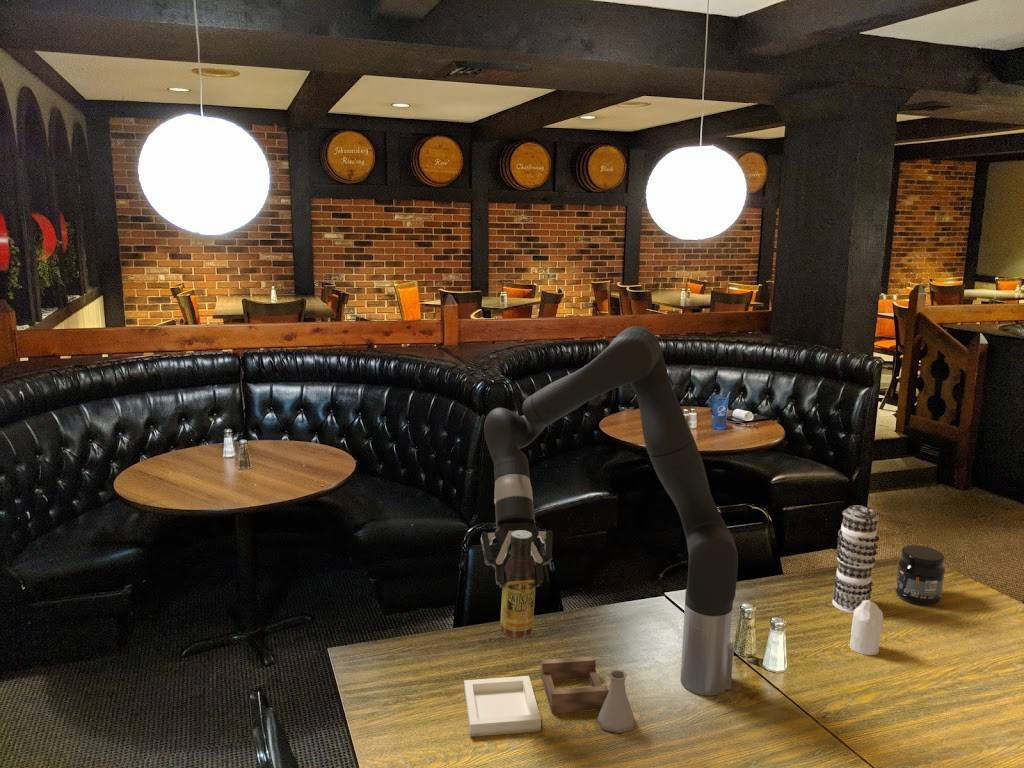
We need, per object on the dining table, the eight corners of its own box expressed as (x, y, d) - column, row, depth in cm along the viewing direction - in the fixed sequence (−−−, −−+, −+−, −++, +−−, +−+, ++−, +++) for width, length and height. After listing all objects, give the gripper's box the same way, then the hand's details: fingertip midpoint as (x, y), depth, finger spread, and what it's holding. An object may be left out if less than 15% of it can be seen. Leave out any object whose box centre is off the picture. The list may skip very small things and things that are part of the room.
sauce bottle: (504, 642, 147) (506, 542, 143) (496, 625, 153) (497, 528, 148) (538, 637, 149) (541, 539, 144) (529, 620, 155) (531, 525, 150)
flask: (637, 734, 145) (640, 685, 143) (598, 734, 145) (599, 685, 143) (632, 710, 152) (634, 663, 150) (595, 709, 153) (596, 662, 150)
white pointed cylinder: (882, 594, 174) (887, 606, 169) (876, 644, 177) (881, 657, 171) (853, 591, 175) (857, 603, 170) (847, 640, 178) (851, 654, 173)
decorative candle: (874, 602, 195) (885, 506, 190) (868, 618, 188) (879, 519, 182) (834, 593, 200) (844, 499, 195) (827, 608, 193) (837, 510, 187)
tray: (528, 686, 160) (528, 675, 159) (540, 731, 146) (540, 719, 146) (464, 691, 158) (464, 680, 157) (470, 736, 144) (470, 724, 144)
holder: (593, 673, 164) (593, 656, 164) (607, 708, 153) (608, 690, 152) (540, 677, 163) (541, 659, 162) (551, 713, 151) (552, 694, 150)
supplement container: (905, 583, 206) (911, 540, 203) (948, 598, 198) (954, 553, 195) (886, 595, 199) (891, 551, 197) (929, 611, 191) (935, 565, 189)
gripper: (478, 495, 152) (483, 580, 143) (552, 493, 153) (561, 578, 145) (476, 510, 158) (480, 593, 149) (547, 509, 160) (555, 591, 151)
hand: (520, 585), depth 147 cm, fingers closed on sauce bottle, 6 cm apart
